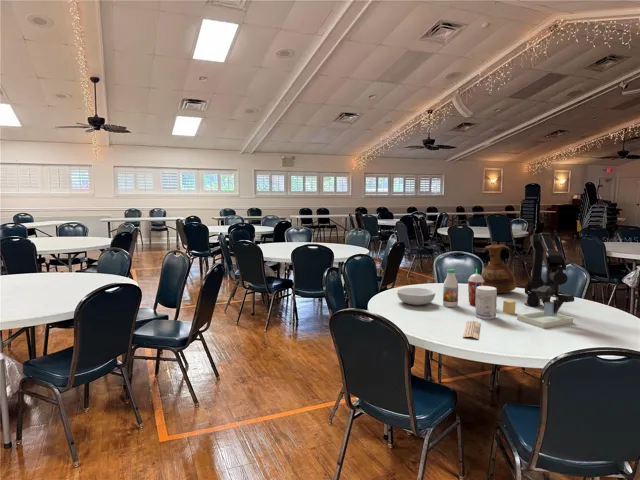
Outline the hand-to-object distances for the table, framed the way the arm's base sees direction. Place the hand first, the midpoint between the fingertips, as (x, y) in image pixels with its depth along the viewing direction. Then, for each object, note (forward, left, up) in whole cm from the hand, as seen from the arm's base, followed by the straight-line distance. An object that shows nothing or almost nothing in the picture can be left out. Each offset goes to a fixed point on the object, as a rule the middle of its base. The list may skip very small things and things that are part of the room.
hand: (550, 312), depth 195 cm
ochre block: (+7, -18, -4) cm, 20 cm away
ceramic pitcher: (-25, -55, -4) cm, 60 cm away
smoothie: (+11, -37, -4) cm, 39 cm away
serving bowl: (+39, -53, -4) cm, 66 cm away
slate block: (0, 0, -1) cm, 1 cm away
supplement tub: (+24, -17, -4) cm, 30 cm away
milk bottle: (+25, -41, -4) cm, 48 cm away
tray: (+4, 0, -4) cm, 6 cm away
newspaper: (+45, -3, -5) cm, 46 cm away
